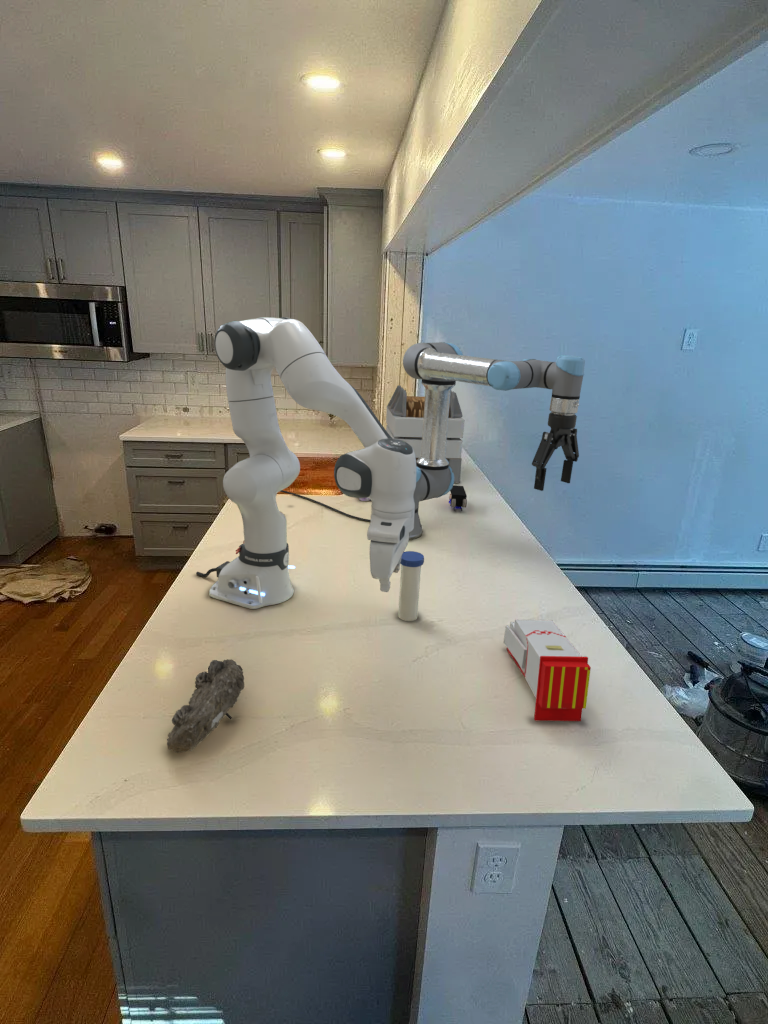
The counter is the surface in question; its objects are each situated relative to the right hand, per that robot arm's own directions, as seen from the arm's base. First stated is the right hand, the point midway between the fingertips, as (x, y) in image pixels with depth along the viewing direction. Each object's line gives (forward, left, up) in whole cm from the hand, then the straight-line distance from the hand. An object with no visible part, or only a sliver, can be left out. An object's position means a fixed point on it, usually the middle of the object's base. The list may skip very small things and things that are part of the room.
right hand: (552, 485), depth 166 cm
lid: (-5, -51, -11) cm, 52 cm away
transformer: (-101, +46, -28) cm, 115 cm away
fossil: (0, -107, -28) cm, 110 cm away
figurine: (-85, +1, -28) cm, 90 cm away
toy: (+32, -46, -28) cm, 63 cm away
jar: (-5, -51, -28) cm, 58 cm away
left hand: (+7, -69, -8) cm, 69 cm away
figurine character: (-56, +24, -28) cm, 67 cm away
